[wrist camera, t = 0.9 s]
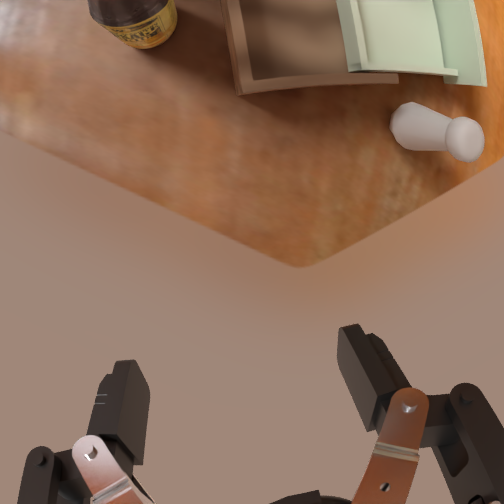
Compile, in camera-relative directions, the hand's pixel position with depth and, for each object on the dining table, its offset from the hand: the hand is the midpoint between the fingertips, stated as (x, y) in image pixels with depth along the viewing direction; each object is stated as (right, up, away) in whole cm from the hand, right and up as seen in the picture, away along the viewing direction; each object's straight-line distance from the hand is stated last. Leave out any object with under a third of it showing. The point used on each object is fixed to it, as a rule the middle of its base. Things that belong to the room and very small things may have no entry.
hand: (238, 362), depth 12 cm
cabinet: (+5, +30, +15) cm, 34 cm away
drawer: (+17, +32, +15) cm, 39 cm away
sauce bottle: (-10, +28, +14) cm, 33 cm away
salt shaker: (+19, +20, +22) cm, 35 cm away
